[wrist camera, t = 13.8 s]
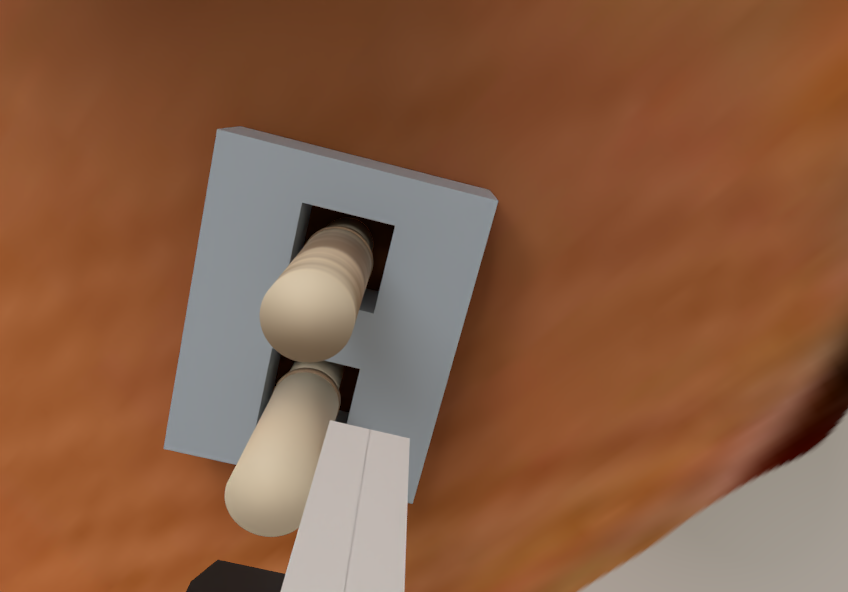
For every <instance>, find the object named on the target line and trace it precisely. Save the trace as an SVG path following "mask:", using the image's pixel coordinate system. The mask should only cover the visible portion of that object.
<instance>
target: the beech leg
mask: <svg viewBox="0 0 848 592" xmlns="http://www.w3.org/2000/svg"><path fill="white" fill-rule="evenodd" d="M372 250H373V237H372V234H371V232H370V230H369V229H368V228H367V226H366V225H365V224H363V223H362V222H361V221H359V220H357V219H354V218H349V217H344V218H339V219H336V220H334V221H332V222H331V223H330V224H328V225H327V227H325V228H322V229H320V230H318V231H317V232H316V233H314V234H313V235H312V236H311V237H310V238H309V240H308V241H307V242H306V244H305V245H304V247H303V248H302V250H301V251H300V252H299V253H298V254H297V256H296V257H295V258H294V259H293V261H292V262H291V263H290V264H289V265H288V267H287V268H286V269H285V270H284V272H283V273H282V274H281V275H280V276H279V278H278V279H277V280H276V281H275V283H274V284H273V285H272V286H271V287H270V289H269V290H268V291H267V293H266V294H265V296H264V298H263V300H262V303H261V307H260V325H261V328H262V331H263V334H264V336H265V338H266V339H267V341H268V342H269V344H270V345H271V346H272V347H273V348H274V349H275V350H276V351H277V352H279V353H280V354H281V355H283V356H285V357H287V358H289V359H291V360H294V361H298V362H303V363H314V362H320V361H324V360H327V359H329V358H331V357H333V356H334V355H336V354H337V353H339V352H340V351H341V350H342V349H343V348H344V347H345V346H346V344H347V343H348V341H349V339H350V337H351V335H352V332H353V328H354V325H355V322H356V319H357V315H358V312H359V309H360V306H361V302H362V299H363V296H364V292H365V289H366V286H367V283H368V280H369V278H370V276H371V273H372V269H373V254H372Z"/></svg>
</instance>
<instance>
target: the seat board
mask: <svg viewBox="0 0 848 592" xmlns="http://www.w3.org/2000/svg"><path fill="white" fill-rule="evenodd" d="M497 204H498V200H497V199H496V197H495V196H494V195H493V193H492V192H491V191H490V190H488V189H484V188H480V187H476V186H472V185H468V184H464V183H460V182H456V181H453V180H449V179H445V178H441V177H437V176H433V175H429V174H425V173H421V172H418V171H414V170H410V169H406V168H402V167H398V166H394V165H390V164H386V163H382V162H379V161H375V160H371V159H367V158H363V157H359V156H355V155H351V154H347V153H343V152H340V151H336V150H332V149H328V148H324V147H320V146H316V145H312V144H308V143H304V142H301V141H297V140H293V139H289V138H285V137H281V136H277V135H273V134H269V133H265V132H262V131H258V130H254V129H250V128H246V127H242V126H237V127H230V128H222V129H217V134H216V140H215V145H214V151H213V157H212V163H211V169H210V175H209V181H208V187H207V193H206V199H205V205H204V211H203V217H202V223H201V229H200V235H199V241H198V247H197V253H196V259H195V265H194V271H193V276H192V282H191V288H190V294H189V300H188V306H187V312H186V318H185V324H184V330H183V336H182V342H181V348H180V354H179V360H178V366H177V372H176V378H175V384H174V390H173V396H172V402H171V407H170V413H169V419H168V425H167V431H166V437H165V443H164V449H167V450H171V451H176V452H180V453H185V454H189V455H194V456H198V457H203V458H208V459H212V460H217V461H221V462H226V463H230V464H235V465H236V466H235V468H234V470H233V472H232V474H231V476H230V478H229V480H228V482H227V485H226V488H225V504H226V507H227V510H228V512H229V514H230V515H231V517H232V518H233V520H234V521H235V522H236V523H237V524H238V525H239V526H241V527H242V528H243V529H245V530H247V531H249V532H251V533H253V534H256V535H260V536H266V537H276V536H282V535H286V534H289V533H291V532H293V531H295V530H296V529H298V528H299V526H300V522H301V519H302V515H303V512H304V508H305V505H306V502H307V498H308V495H309V491H310V488H311V484H312V481H313V477H314V474H315V470H316V467H317V463H318V460H319V457H320V453H321V450H322V446H323V443H324V439H325V436H326V432H327V429H328V425H329V422H330V420H331V421H336V422H340V423H344V424H349V425H353V426H358V427H362V428H366V429H371V430H375V431H380V432H384V433H388V434H393V435H397V436H401V437H406V438H410V446H409V474H408V502H407V503H411V504H413V501H414V497H415V493H416V490H417V486H418V483H419V479H420V476H421V472H422V469H423V465H424V462H425V458H426V455H427V451H428V448H429V444H430V440H431V437H432V433H433V430H434V426H435V423H436V419H437V416H438V412H439V409H440V405H441V402H442V398H443V395H444V391H445V387H446V384H447V380H448V377H449V373H450V370H451V366H452V363H453V359H454V356H455V352H456V349H457V345H458V342H459V338H460V335H461V331H462V327H463V324H464V320H465V317H466V313H467V310H468V306H469V303H470V299H471V296H472V292H473V289H474V285H475V282H476V278H477V274H478V271H479V267H480V264H481V260H482V257H483V253H484V250H485V246H486V243H487V239H488V236H489V232H490V229H491V225H492V221H493V218H494V214H495V211H496V207H497ZM312 205H314V206H318V207H322V208H326V209H330V210H334V211H338V212H342V213H346V214H350V215H354V216H358V217H362V218H366V219H370V220H374V221H378V222H382V223H386V224H390V225H394V226H395V227H394V231H393V235H392V239H391V243H390V248H389V252H388V256H387V260H386V264H385V268H384V272H383V276H382V280H381V284H380V288H379V291H376V290H372V289H367V288H366V289H365V292H364V296H363V299H362V302H361V306H360V309H359V312H358V315H357V319H356V322H355V325H354V328H353V332H352V335H351V337H350V339H349V341H348V343H347V344H346V346H345V347H344V348H343V349H342V350H341V351H340V352H339V353H337V354H336V355H334V356H333V357H331V358H329V359H327V360H324V361H320V362H314V363H303V362H298V361H294V363H293V365H292V367H291V369H290V371H289V372H288V373H286V374H285V375H284V376H283V377H281V379H280V380H279V381H278V383H277V385H276V387H275V389H274V385H275V381H276V376H277V371H278V366H279V362H280V357H281V354H280V353H279V352H277V351H276V350H275V349H274V348H273V347H272V346H271V345H270V344H269V342H268V341H267V339H266V338H265V336H264V334H263V331H262V328H261V325H260V307H261V303H262V300H263V298H264V296H265V294H266V293H267V291H268V290H269V289H270V287H271V286H272V285H273V284H274V283H275V281H276V280H277V279H278V278H279V276H280V275H281V274H282V273H283V272H284V270H285V269H286V268H287V267H288V265H289V264H290V263H291V262H292V261H293V259H294V258H295V257H296V256H297V254H298V253H299V252H300V251H301V250H302V248H303V247H304V243H305V238H306V233H307V228H308V224H309V219H310V214H311V209H312ZM344 365H345V366H350V367H354V368H358V369H360V370H359V374H358V378H357V382H356V386H355V390H354V395H353V399H352V403H351V407H350V411H349V412H345V411H340V410H339V408H340V404H341V396H340V391H339V388H340V384H341V381H342V377H343V373H344ZM273 390H274V391H273Z"/></svg>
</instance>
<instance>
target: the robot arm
mask: <svg viewBox="0 0 848 592" xmlns="http://www.w3.org/2000/svg"><path fill="white" fill-rule="evenodd" d="M409 446H410V438H406V437H401V436H397V435H393V434H388V433H384V432H380V431H375V430H371V429H366V428H362V427H358V426H353V425H349V424H344V423H340V422H336V421H331V420H330V422H329V425H328V429H327V432H326V436H325V439H324V443H323V446H322V450H321V453H320V457H319V460H318V463H317V467H316V470H315V474H314V477H313V481H312V484H311V488H310V491H309V495H308V498H307V502H306V505H305V508H304V512H303V515H302V519H301V522H300V526H299V529H298V533H297V536H296V540H295V543H294V547H293V550H292V553H291V557H290V560H289V564H288V567H287V571H286V574H282V573H278V572H273V571H268V570H264V569H259V568H254V567H249V566H245V565H240V564H235V563H230V562H226V561H221V560H217V561H216V562H215V563H213V564H212V565H211V566H210V567H208V568H207V569H206V570H205V571H203V572H202V573H201V574H200V575H199V576H197V577H196V578H195V579H194V580H192V581H191V583H190V585H189V587H188V589H187V591H186V592H404V587H405V559H406V530H407V502H408V474H409Z"/></svg>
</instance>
